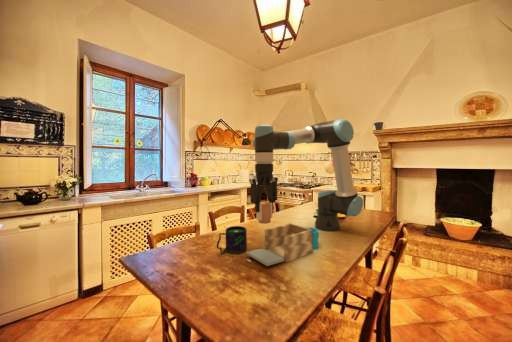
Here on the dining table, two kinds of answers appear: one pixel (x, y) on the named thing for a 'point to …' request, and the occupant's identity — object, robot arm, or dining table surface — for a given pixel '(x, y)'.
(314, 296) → the dining table surface
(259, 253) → the panel
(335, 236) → the dining table surface
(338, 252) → the dining table surface
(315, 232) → the mug
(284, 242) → the crate
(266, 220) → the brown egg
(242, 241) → the mug
